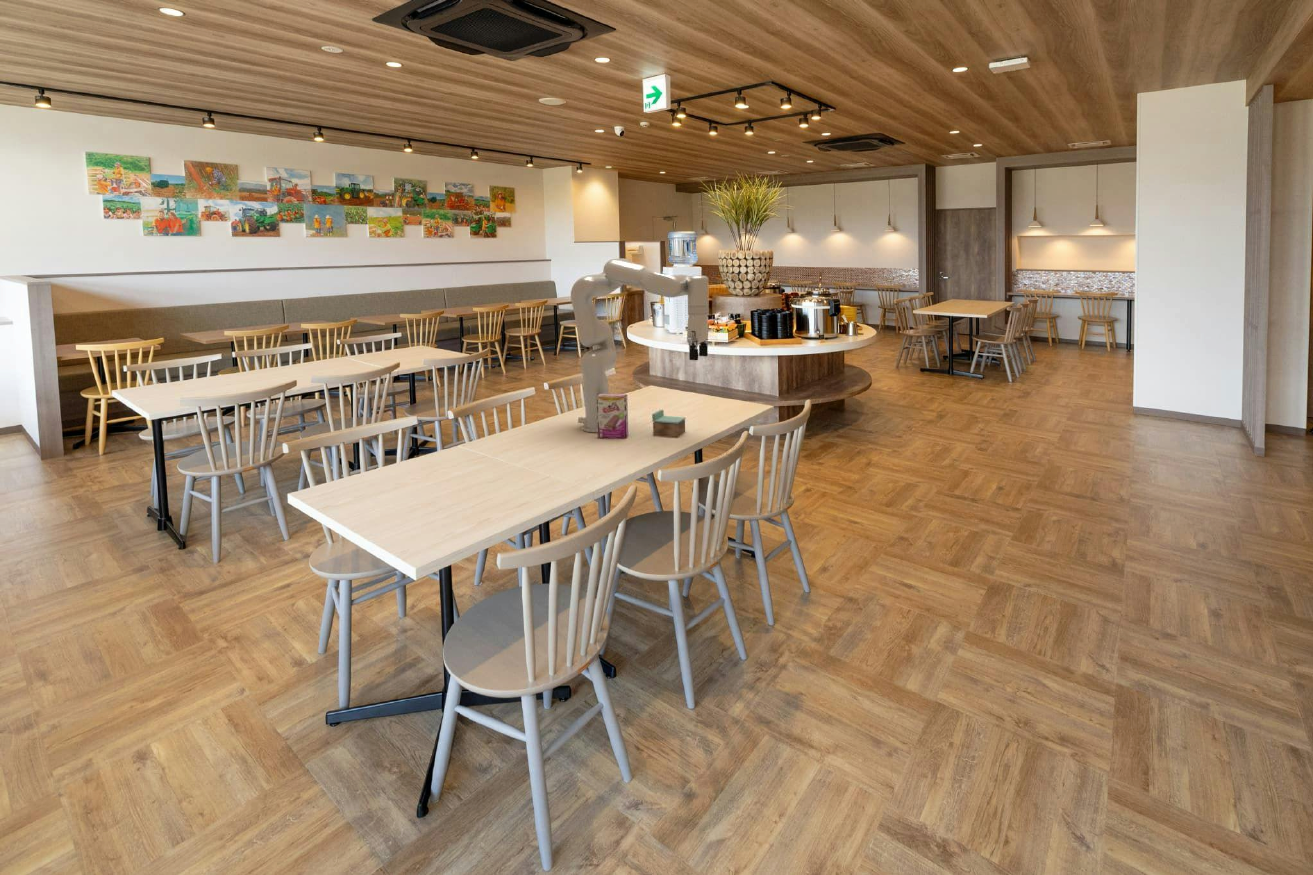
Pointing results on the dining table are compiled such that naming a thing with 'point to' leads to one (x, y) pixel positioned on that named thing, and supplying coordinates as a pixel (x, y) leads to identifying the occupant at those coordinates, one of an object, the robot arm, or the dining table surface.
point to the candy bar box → (612, 415)
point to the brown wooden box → (668, 429)
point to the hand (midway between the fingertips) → (698, 358)
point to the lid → (666, 418)
